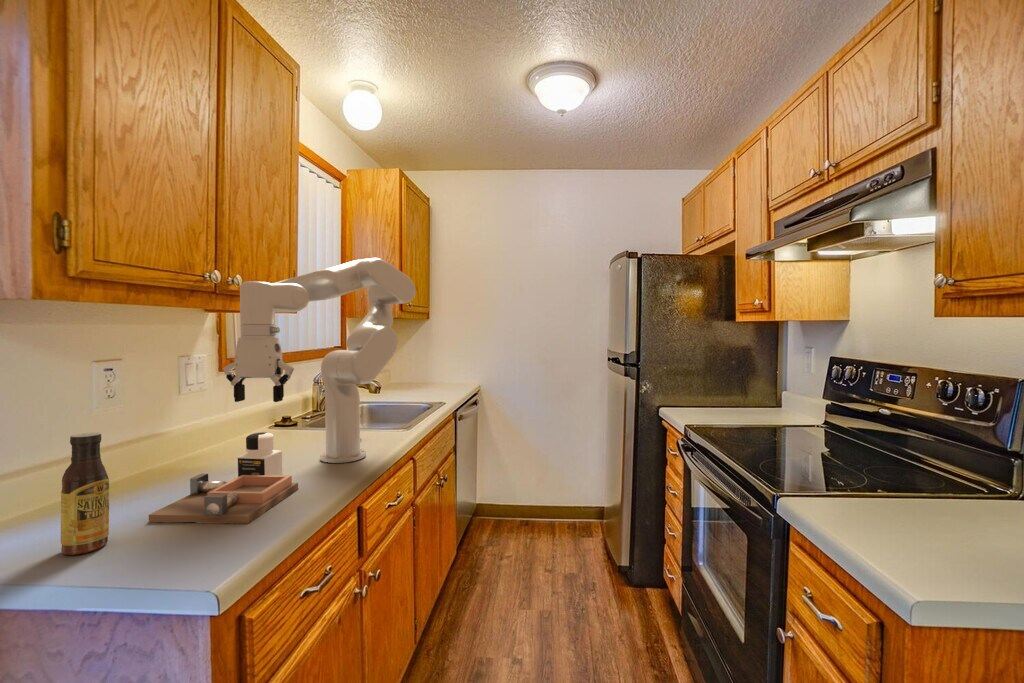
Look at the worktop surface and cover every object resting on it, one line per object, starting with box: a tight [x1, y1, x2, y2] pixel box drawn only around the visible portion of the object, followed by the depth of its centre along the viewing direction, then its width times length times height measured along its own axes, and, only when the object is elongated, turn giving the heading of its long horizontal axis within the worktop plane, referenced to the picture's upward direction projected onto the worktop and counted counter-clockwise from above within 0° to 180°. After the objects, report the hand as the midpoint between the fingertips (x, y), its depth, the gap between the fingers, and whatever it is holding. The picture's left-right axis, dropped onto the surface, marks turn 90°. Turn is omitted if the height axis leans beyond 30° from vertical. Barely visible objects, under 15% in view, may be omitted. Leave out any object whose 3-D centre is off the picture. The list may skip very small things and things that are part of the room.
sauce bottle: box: [60, 432, 110, 556], centre depth 82 cm, size 6×6×20 cm
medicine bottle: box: [237, 431, 283, 477], centre depth 118 cm, size 7×7×12 cm
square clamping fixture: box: [148, 473, 299, 525], centre depth 103 cm, size 20×20×5 cm
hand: (258, 401), depth 117 cm, fingers open, 9 cm apart
